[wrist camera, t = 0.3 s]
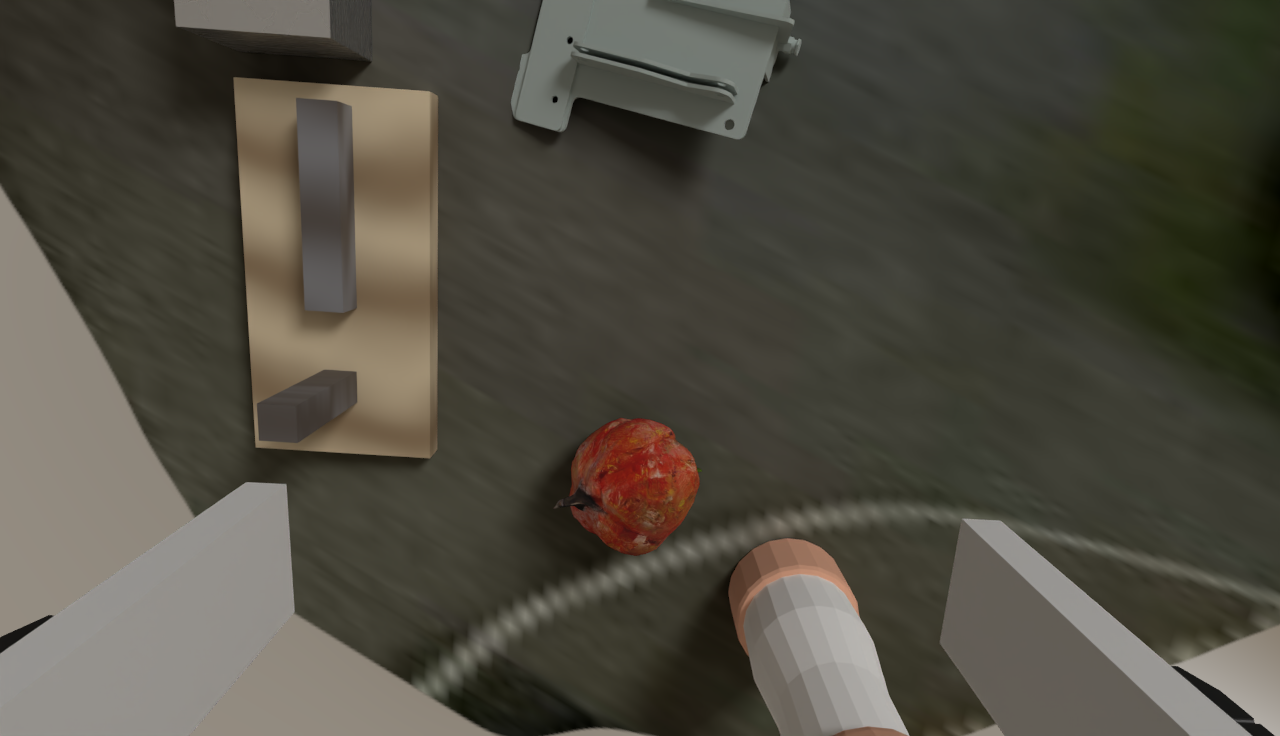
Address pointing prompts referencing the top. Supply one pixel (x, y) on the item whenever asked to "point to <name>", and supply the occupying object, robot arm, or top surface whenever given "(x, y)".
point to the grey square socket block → (282, 26)
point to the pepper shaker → (809, 644)
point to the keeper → (340, 265)
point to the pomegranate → (632, 484)
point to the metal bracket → (653, 60)
